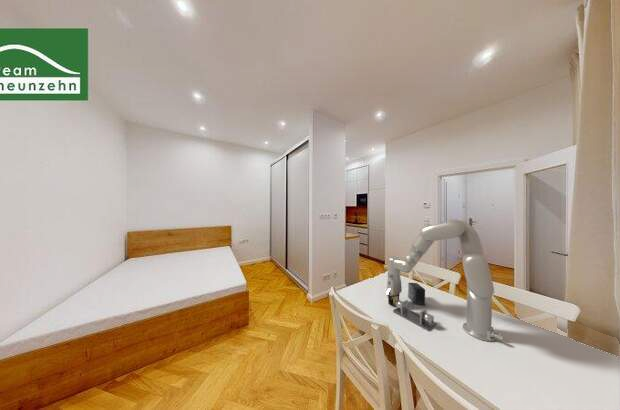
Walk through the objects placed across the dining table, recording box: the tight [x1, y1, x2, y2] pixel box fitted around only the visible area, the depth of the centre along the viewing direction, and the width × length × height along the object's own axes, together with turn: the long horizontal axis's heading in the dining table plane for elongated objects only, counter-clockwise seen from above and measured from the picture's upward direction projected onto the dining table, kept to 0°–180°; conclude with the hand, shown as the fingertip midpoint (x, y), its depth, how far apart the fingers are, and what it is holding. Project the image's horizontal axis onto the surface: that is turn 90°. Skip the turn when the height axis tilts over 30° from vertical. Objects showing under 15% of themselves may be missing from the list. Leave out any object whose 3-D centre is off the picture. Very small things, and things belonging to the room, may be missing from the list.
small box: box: [407, 282, 426, 306], centre depth 128 cm, size 11×6×10 cm, turn 179°
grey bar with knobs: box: [392, 299, 437, 332], centre depth 109 cm, size 20×9×7 cm, turn 33°
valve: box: [390, 295, 398, 308], centre depth 124 cm, size 5×5×7 cm
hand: (393, 302), depth 124 cm, fingers open, 5 cm apart
